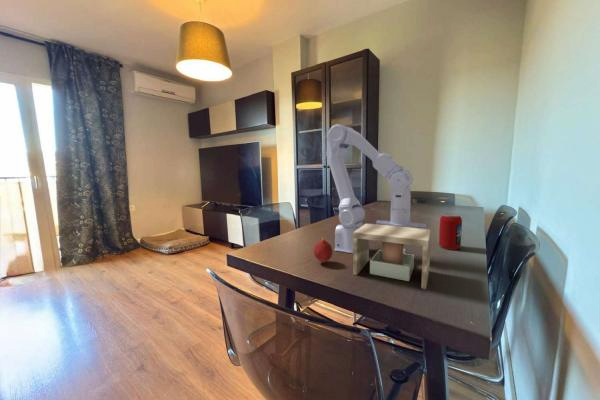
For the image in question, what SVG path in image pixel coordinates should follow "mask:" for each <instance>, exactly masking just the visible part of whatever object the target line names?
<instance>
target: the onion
mask: <svg viewBox="0 0 600 400" xmlns="http://www.w3.org/2000/svg"><path fill="white" fill-rule="evenodd" d="M313 255H314V257H315V259H317V261H318V262H320V263H322V264H325V263H326V262H328V261H330V259H331V258H332V256H333V247H332V245H331V244H330V243H329V242H328V241H327V240H325V238H323V237H322V238H320V241H318V242H317V243H316V244H315V245H314V248H313Z"/></svg>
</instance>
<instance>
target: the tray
mask: <svg viewBox="0 0 600 400" xmlns="http://www.w3.org/2000/svg"><path fill="white" fill-rule="evenodd" d="M414 265H415V255H414V254H409V253H406V248H405V247H404V252H403V265H397V264H391V263H385V262H382V249H379V250H377V251H376V252H375V253H374V255H373V256H372V257H371V259H369V274H370V275H374V276H378V277H379V276H380V277H385V278H389V279H395V280H400V281H401V280H402V281H406V282H410V280H411V277H412V273H413V270H414Z"/></svg>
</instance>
